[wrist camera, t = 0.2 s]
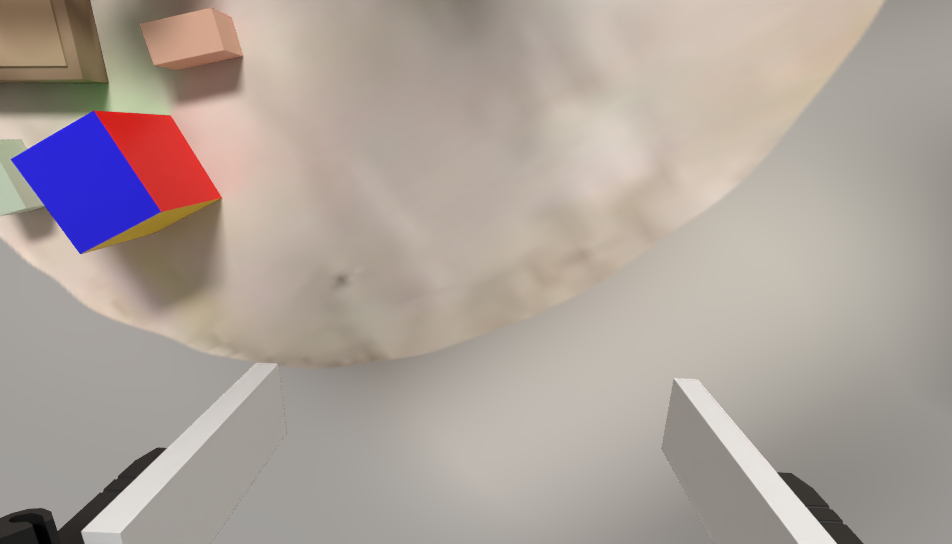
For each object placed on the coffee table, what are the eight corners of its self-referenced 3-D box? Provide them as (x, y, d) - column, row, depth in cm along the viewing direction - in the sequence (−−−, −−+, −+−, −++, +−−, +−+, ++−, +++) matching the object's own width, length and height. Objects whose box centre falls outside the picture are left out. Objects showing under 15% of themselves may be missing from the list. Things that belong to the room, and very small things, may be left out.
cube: (222, 197, 41) (161, 211, 34) (154, 232, 42) (80, 254, 35) (171, 115, 39) (93, 110, 32) (101, 154, 40) (10, 159, 33)
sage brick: (-5, 148, 41) (-42, 149, 38) (23, 139, 40) (-12, 139, 38) (30, 211, 42) (-3, 216, 39) (57, 203, 42) (26, 208, 39)
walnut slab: (-75, -79, 35) (-119, -96, 33) (71, -82, 35) (38, -99, 32) (-25, 83, 39) (-61, 79, 36) (108, 83, 38) (81, 79, 36)
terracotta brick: (179, 70, 38) (153, 65, 35) (166, 32, 37) (139, 23, 34) (244, 56, 38) (224, 50, 35) (232, 17, 37) (211, 7, 34)
